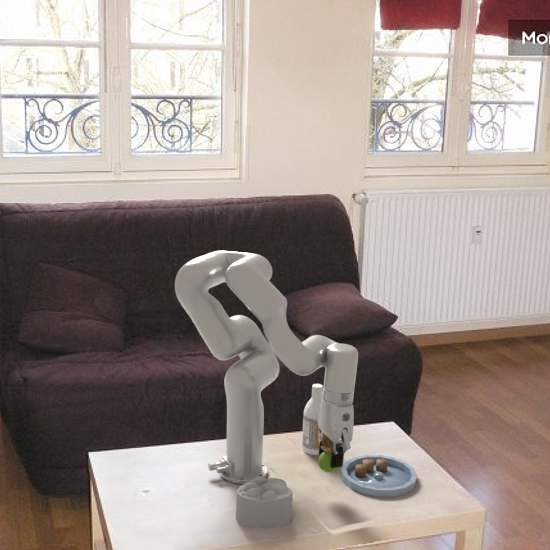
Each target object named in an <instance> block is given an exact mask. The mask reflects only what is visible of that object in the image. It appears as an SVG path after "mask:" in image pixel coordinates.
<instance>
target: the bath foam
mask: <svg viewBox="0 0 550 550" xmlns="http://www.w3.org/2000/svg"><path fill="white" fill-rule="evenodd" d="M311 385H312V386H311V398H310V399H309V400H308V401H307V403H306V405H305V407H304V409H303V418H302V419H303V420H302V440H301V441H302V443H301V445H302V446H301V450H302V452H304V453H305V454H307V455H310V456H311V455H312V456H320V455H319V447H320V441H321V440H320V439H319V436H320V431H319V426H318V422H317V421H318V419H319V412H320V406H321V401H322V395H323V386H324V384H323V385H322V384H321V383H313V384H311Z"/></svg>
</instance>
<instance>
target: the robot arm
mask: <svg viewBox="0 0 550 550" xmlns="http://www.w3.org/2000/svg"><path fill="white" fill-rule="evenodd" d="M272 277H273V266H272V265H271V263H270V262H269V260H268V259H267V258H266V257H264V256H262V255H261V254H258V253H251V252H241V251H240V252H239V251H232V250H231V251H228V250H215V251H212V252H208V253H206V254H203V255H200V256H198V257H194V258H192V259H191V260H189V261H188V262H186V263H184V265H183V266H181V267H180V269H179V270H178V271H177V273H176V276H175V280H174V291H175V296H176V298H177V300H178V302H179V303H180V305H181V306H182V308H183V309H184V310H185V312H186V314H187V315H188V316H189V318H190V319H191V321H192V323H193V325H194V326H195V328H196V329H197V331H198V333H199V336H201V338H202V340H203V342H204V343H205V344H206V346H207V348H208V349H209V351H210V353H211V354H212V355H213V357H215V359H217V360H219V361H228V360H231V359H233V358H235V357H237V356H238V357H239V358H240V359H239V360H237V361H235V363H233V364H232V365H230V367H229V368H228V369H227V371H226V373H225V376H224V384H223V385H224V391H225V396H226V398H225V399H226V450H225V451H226V454H225V455H223V456H222V459H220V460H219V461H217V462H210V463H208V470H209V471H216V473H217V474H220V477H222V478H223V479H224V480H226V481H228V482H230V483H232V484H238V485H243V484H245V483H247V482H249V481H252V480H253V479H254V478H255V477H257V476H263V477H265V478H266V479H267V477H268V474H269V468H268V467H267V465H266V464H265V463H264V462H263V457H264V456H263V455H264V454H263V451H264V450H263V449H264V421H265V418H264V417H265V415H264V413H265V411H264V403H263V400H262V396H261V393H262V391H263V390H264V389H265V388H266V387H268V386H269V385H271V384H272V383H273V382H274V381H275V380H276V379H277V378H278V376H279V374H280V363H279V360H280V361H281V363H283V365H284V366H285V367H286V368H288V370H289V371H291V372H293V373H294V374H296V375H298V376H301V377H303V376H304V377H306V376H309V375H311V374H313V373H314V372H316V371H317V370H318V369H320V368H325V370H324V379H323V395H322V401H321V406H320V412H319V419H318V421H317V422H318V426H319V431H320V436H319V439H320V440H321V439H322V437H323V435H324V434H325V435H326V436H327V437H328V438H329V439H330V440H332V441H333V450H334V452H333V453H332V456H331V465H330V467H331V468H336V467H338V468H342V467H343V465H344V458H345V457H344V456H345V454H346V452H347V451H349V450H350V449H351V442H352V441H353V435H354V420H355V419H354V418H355V417H354V415H355V414H354V404H353V403H354V394H355V385H356V378H357V368H358V363H359V352H358V349H357V348H356V347H354V346H353V345H351V344H347V343H339V342H336V341H335V340H333V339H331V338H330V337H329V338H328V337H327V336H324V335H322V334H321V335H320V334H315V335H313V334H312V335H310V336H309V337H307V338H306V339H305V340H303V341H301V340H300V339H299V338H298V337H297V336H296V335H295V334H294V333H293V331H292V330H291V328H290V326H289V324H288V320H287V308H288V299H287V298H286V296H284V295H283V293H281V292H280V290H278V288H276V286H275V285H274V284H273V283H272V282H271V281H270V280H271V279H272ZM222 283H226V285H227V286H228V288H229V289H230V291H232V292H233V294H234V295H235V296H236V297H237V298H238V299H239V300H240V301H241V302H242V303H243V304H244V306H246V308H247V309H248V310H249V311H250V312H251V313H252V314H253V315H254V316H255V317H256V319H258V321H259V322H260V324H261V325H262V329H263V333H264V334H263V333H262V331H261V329H260V328H259V327H258V325H257V324H256V322H254V320H252V319H251V318H249V317H248V316H245V315H243V314H236V315H233V316H230V317H229V315H228V314H227V311H226V310H225V309H224V307H223V305H222V304H221V302H220V301H219V300H218V299H217V298H216V297H214V295H212V294H211V293H209V290H210V289H211V288H214V287H216V286H218V285H221V284H222ZM264 335H265V336H264ZM278 359H279V360H278ZM340 443H341V446H340V447H339V448H338V447H337V444H340ZM321 446H323V444H322V442H321V441H320V447H319V455H318V456H320V455H321V453H323V452H324V451H323V450H322V448H321Z"/></svg>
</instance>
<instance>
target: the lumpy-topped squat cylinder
mask: <svg viewBox="0 0 550 550" xmlns="http://www.w3.org/2000/svg"><path fill="white" fill-rule="evenodd" d="M293 495H294V493H293V490H292V489H291V488H290V487H288V485H287V483H286V480H284V479H281V478H277V477H268V478H267V477H266V478H265V477H263V476H257V477H255V478H254V479H253V480H252V481H249V482H247V483H245V484H241V485H240V486H239V487H238V488H237V490H236V502H235V503H236V506H235V521H236V522H237V523H239V524H240V525H241V526H244V527H248V528H249V527H250V528H252V529H269V528H270V529H271V528H276V527H280V526H284V525H287V524H289V523H291V522H292V519H293Z"/></svg>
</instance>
